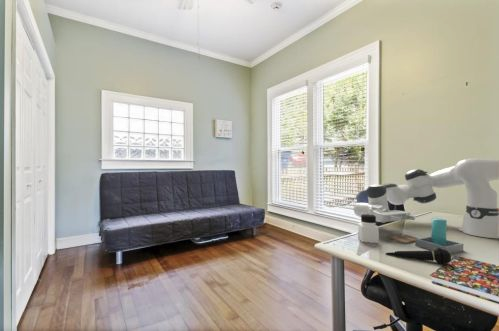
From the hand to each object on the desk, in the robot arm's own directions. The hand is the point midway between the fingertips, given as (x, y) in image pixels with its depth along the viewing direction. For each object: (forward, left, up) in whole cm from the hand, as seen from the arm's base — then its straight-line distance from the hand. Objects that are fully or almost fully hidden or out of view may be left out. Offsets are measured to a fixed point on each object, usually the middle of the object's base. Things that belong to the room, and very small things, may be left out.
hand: (407, 219), depth 114 cm
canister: (0, +13, -10) cm, 16 cm away
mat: (+2, 0, -10) cm, 10 cm away
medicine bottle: (+19, -6, -10) cm, 22 cm away
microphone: (+21, +17, -10) cm, 29 cm away
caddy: (0, +13, -10) cm, 16 cm away
